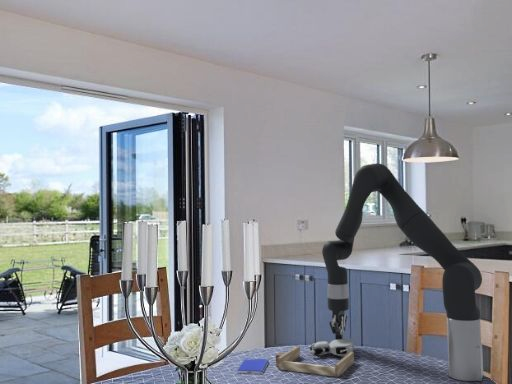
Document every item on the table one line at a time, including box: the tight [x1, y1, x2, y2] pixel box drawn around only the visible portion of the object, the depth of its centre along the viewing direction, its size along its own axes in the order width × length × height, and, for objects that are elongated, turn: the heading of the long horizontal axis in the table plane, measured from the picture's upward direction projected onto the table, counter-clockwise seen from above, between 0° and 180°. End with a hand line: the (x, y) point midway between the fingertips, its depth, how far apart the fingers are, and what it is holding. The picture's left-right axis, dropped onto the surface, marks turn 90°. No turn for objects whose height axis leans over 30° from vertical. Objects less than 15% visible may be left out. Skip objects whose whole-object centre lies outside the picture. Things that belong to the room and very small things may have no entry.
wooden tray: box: [275, 345, 355, 378], centre depth 172 cm, size 22×16×4 cm
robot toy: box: [309, 338, 355, 358], centre depth 184 cm, size 12×4×15 cm
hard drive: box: [236, 358, 270, 375], centre depth 171 cm, size 2×8×12 cm
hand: (339, 344), depth 192 cm, fingers closed
